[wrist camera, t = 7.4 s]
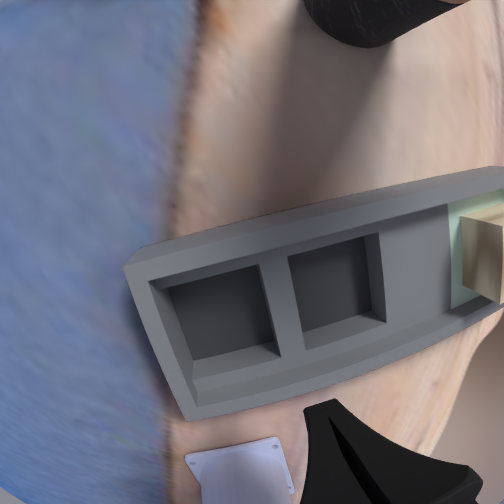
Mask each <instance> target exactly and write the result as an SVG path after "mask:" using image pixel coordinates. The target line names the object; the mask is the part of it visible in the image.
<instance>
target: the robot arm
mask: <svg viewBox="0 0 504 504" xmlns="http://www.w3.org/2000/svg"><path fill="white" fill-rule="evenodd" d="M303 412H304V417H305V422H306V427H307V432H308V445H309V448H308V464H307V472H306V479H305V484H304V489H303V493H302V498H301V501H300V504H478V503H477V502H476V501H475V499H476V497H477V495H478V493H479V492H480V490H481V488H482V485H483V480H482V479H481V478H480V476H479V475H478V474H477V473H476V472H475V471H474V470H473V469H471V468H470V467H469V466H467V465H460V464H454V463H449V462H445V461H441V460H437V459H433V458H430V457H427V456H424V455H421V454H419V453H416V452H413V451H411V450H409V449H406V448H404V447H402V446H400V445H398V444H396V443H394V442H392V441H390V440H389V439H387V438H385V437H384V436H382V435H380V434H379V433H377V432H376V431H374V430H373V429H371V428H370V427H368V426H367V425H366V424H364V423H363V422H362V421H360V420H359V419H358V418H357V417H355V416H354V415H353V414H352V413H351V412H350V411H348V410H347V409H346V408H345V407H344V406H343V405H342V404H341V403H340V402H339V401H338V400H337V399H335V398H334V399H331V400H328V401H325V402H322V403H319V404H316V405H313V406H309V407H306V408H305V409H304V410H303ZM274 445H275V446H274ZM185 462H186V463H187V465H188V466H189V468H190V470H191V471H192V473H193V474H194V476H195V477H196V479H197V480H198V482H199V483H200V485H201V496H202V504H293V502H292V499H291V494H293V493H294V492H295V489H294V486H293V483H292V480H291V476H290V473H289V470H288V467H287V463H286V460H285V457H284V453H283V450H282V447H281V444H280V440H279V438H278V437H270V438H266V439H262V440H257V441H253V442H249V443H244V444H240V445H235V446H230V447H225V448H220V449H215V450H209V451H203V452H197V453H190V454H186V455H185ZM499 504H504V500H503V501H501V502H500V503H499Z"/></svg>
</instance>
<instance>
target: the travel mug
mask: <svg viewBox="0 0 504 504" xmlns="http://www.w3.org/2000/svg"><path fill="white" fill-rule="evenodd" d="M468 1H470V0H304V2H305V6H306V8H307V10H308V12H309V14H310V15H311V17H312V18H313V20H314V21H315V22H316V23H317V24H318V25H319V26H320V27H321V28H322V29H323V30H324V31H325V32H327V33H328V34H329V35H331V36H332V37H334V38H335V39H337V40H339V41H341V42H343V43H346V44H349V45H352V46H356V47H361V48H372V47H378V46H381V45H384V44H386V43H388V42H390V41H392V40H394V39H396V38H397V37H399V36H401V35H403V34H405V33H406V32H408V31H410V30H412V29H414V28H416V27H418V26H419V25H421V24H423V23H425V22H427V21H429V20H431V19H433V18H435V17H437V16H439V15H441V14H443V13H445V12H447V11H449V10H451V9H453V8H455V7H458V6H460V5H462V4H464V3H466V2H468Z"/></svg>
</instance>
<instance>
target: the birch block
mask: <svg viewBox="0 0 504 504" xmlns="http://www.w3.org/2000/svg"><path fill="white" fill-rule="evenodd" d="M460 218H461V233H462V263H463V283H462V285H463V286H465V287H467V288H469V289H471V290H473V291H475V292H477V293H479V294H481V295H483V296H485V297H486V298H488V299H490V300H492V301H494V302H496V303H498V304H502V303H504V203H500V204H497V205H494V206H491V207H488V208H484V209H481V210H478V211H475V212H471V213H468V214H465V215H461V216H460Z"/></svg>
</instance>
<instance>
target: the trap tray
mask: <svg viewBox="0 0 504 504" xmlns="http://www.w3.org/2000/svg"><path fill="white" fill-rule="evenodd" d="M500 203H504V167H500V166H489V167H483V168H478V169H473V170H468V171H462V172H457V173H452V174H447V175H442V176H437V177H432V178H427V179H422V180H418V181H413V182H408V183H403V184H399V185H394V186H389V187H385V188H380V189H375V190H371V191H366V192H362V193H357V194H353V195H349V196H344V197H340V198H335V199H331V200H327V201H322V202H318V203H314V204H310V205H305V206H301V207H297V208H293V209H289V210H285V211H280V212H276V213H272V214H268V215H264V216H260V217H256V218H252V219H248V220H244V221H240V222H236V223H232V224H228V225H225V226H221V227H217V228H213V229H209V230H205V231H202V232H198V233H194V234H190V235H186V236H183V237H179V238H175V239H172V240H168V241H164V242H161V243H157V244H153V245H150V246H146V247H142V248H139V249H138V250H137V251H136V253H135V254H134V255H133V256H132V257H131V258H130V259H129V260H128V261H127V262H126V263H125V264H124V265H123V270H124V273H125V276H126V279H127V282H128V285H129V287H130V290H131V293H132V296H133V299H134V301H135V304H136V307H137V309H138V312H139V315H140V317H141V320H142V323H143V325H144V328H145V330H146V333H147V335H148V338H149V340H150V343H151V345H152V348H153V350H154V352H155V355H156V357H157V359H158V362H159V364H160V366H161V369H162V371H163V373H164V375H165V378H166V380H167V382H168V384H169V386H170V389H171V391H172V393H173V395H174V397H175V399H176V401H177V404H178V406H179V408H180V410H181V412H182V414H183V416H184V418H185V420H186V422H189V421H194V420H200V419H205V418H210V417H215V416H220V415H225V414H229V413H234V412H238V411H242V410H247V409H251V408H255V407H259V406H263V405H267V404H270V403H274V402H278V401H281V400H285V399H288V398H292V397H295V396H299V395H302V394H305V393H309V392H312V391H315V390H318V389H321V388H324V387H327V386H330V385H333V384H336V383H339V382H342V381H345V380H348V379H351V378H353V377H356V376H359V375H361V374H364V373H367V372H369V371H372V370H375V369H377V368H380V367H382V366H385V365H387V364H390V363H392V362H394V361H397V360H399V359H402V358H404V357H406V356H409V355H411V354H413V353H415V352H418V351H420V350H422V349H424V348H426V347H429V346H431V345H433V344H435V343H437V342H439V341H441V340H443V339H445V338H447V337H449V336H451V335H453V334H455V333H457V332H459V331H461V330H463V329H465V328H467V327H469V326H471V325H473V324H475V323H476V322H478V321H480V320H482V319H484V318H486V317H487V316H489V315H491V314H493V313H494V312H496V311H498V310H500V309H501V308H503V307H504V303H502V304H498V303H496V302H494V301H492V300H490V299H488V298H486V297H485V296H483V295H481V294H479V293H477V292H475V291H473V290H471V289H469V288H467V287H465V286H463V285H462V283H463V263H462V233H461V218H460V216H461V215H465V214H468V213H471V212H475V211H478V210H481V209H484V208H488V207H491V206H494V205H497V204H500Z"/></svg>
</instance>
